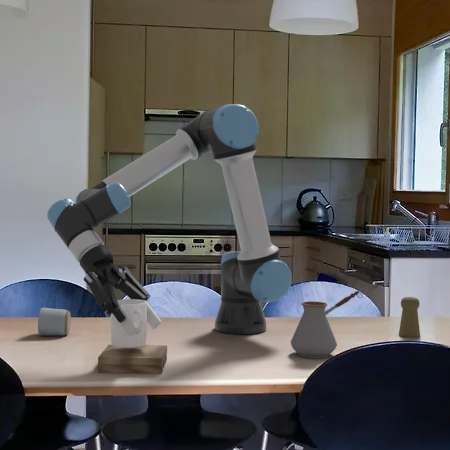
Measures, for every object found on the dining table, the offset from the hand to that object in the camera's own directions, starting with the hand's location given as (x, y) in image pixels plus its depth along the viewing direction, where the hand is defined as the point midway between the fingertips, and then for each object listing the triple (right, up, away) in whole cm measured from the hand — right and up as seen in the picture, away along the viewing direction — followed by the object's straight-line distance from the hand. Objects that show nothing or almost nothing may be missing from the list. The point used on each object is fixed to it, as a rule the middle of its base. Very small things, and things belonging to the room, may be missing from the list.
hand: (145, 328), depth 158 cm
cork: (+70, -8, +40) cm, 82 cm away
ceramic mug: (-30, -7, +38) cm, 49 cm away
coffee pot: (+44, -9, +18) cm, 49 cm away
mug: (-3, -4, +1) cm, 6 cm away
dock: (-3, -9, +2) cm, 10 cm away
